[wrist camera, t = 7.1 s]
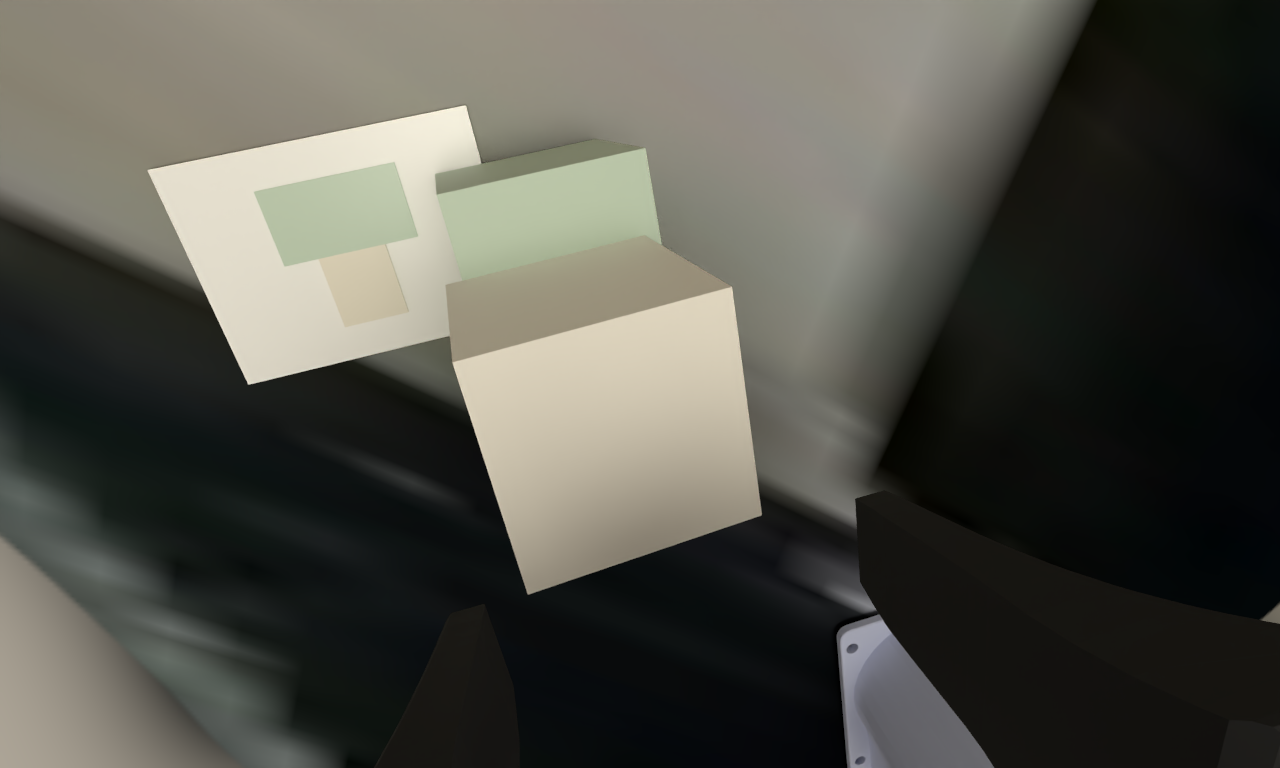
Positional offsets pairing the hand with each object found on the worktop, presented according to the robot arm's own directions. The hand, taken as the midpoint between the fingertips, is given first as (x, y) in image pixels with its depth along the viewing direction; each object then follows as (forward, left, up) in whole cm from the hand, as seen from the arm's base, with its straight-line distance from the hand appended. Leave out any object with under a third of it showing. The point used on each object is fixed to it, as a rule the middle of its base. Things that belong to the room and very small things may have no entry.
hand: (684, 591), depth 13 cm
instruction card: (+6, +6, -10) cm, 13 cm away
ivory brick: (+3, +1, -5) cm, 6 cm away
